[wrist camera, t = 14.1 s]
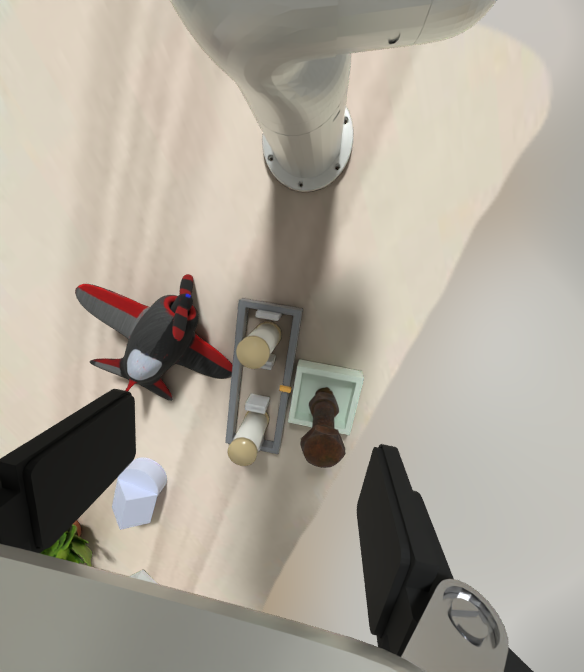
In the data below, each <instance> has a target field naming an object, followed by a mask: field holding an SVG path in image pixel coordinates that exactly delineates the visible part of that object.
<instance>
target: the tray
mask: <svg viewBox="0 0 584 672" xmlns="http://www.w3.org/2000/svg"><path fill="white" fill-rule="evenodd" d="M363 381H364V376H363V373H362V371H359V370H354V369H349V368H343V367H338V366H333V365H327V364H322V363H317V362H311V361H306V360H301V359H299V362H298V365H297V371H296V377H295V383H294V389H293V395H292V401H291V406H290V412H289V418H288V422H289V423H293V424H298V425H303V426H308V427H312V423H313V416H312V414H311V412H310V409H309V401H310V400H311V399H312V398H313V397H314V396H315V393H316V391H317V390H318V389H320V388H325V387H328V388H330V390H332V392H333V395H334V396H335V398H336V401H337V404H338V407H339V413H338V414H337V416H336V417H335V418H334V426H335V429H338V431H339V433H342V434H346V435H350V432H351V428H352V424H353V420H354V416H355V412H356V408H357V404H358V400H359V397H360V393H361V389H362V385H363Z"/></svg>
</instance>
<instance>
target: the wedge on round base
mask: <svg viewBox="0 0 584 672" xmlns="http://www.w3.org/2000/svg"><path fill="white" fill-rule="evenodd" d="M166 482H167V475H166V472H165V470H164V469H163V468H162V466H161V465H160V464H158V463H157V462H156V461H154V460H152V459H149V458H137V459H135V460H133V461H132V462H131V464H130V465H129V466H128V467H127V468H126V469H125V470H124V471H123V472H122V473H121V474H120V475H119V476H118V480H117V485H116V490H115V495H114V500H113V505H112V509H113V512H114V514H115V517H116V520H117V523H118V526H119V529H120V530H121V529H125V528H129V527H134V526H138V525H142V524H147V523H150V521H151V518H152V514H153V510H154V506H155V503H156V499H157V496H158V495H159V493H160V492H161V491H162V489H163V488H164V486H165V485H166Z"/></svg>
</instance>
